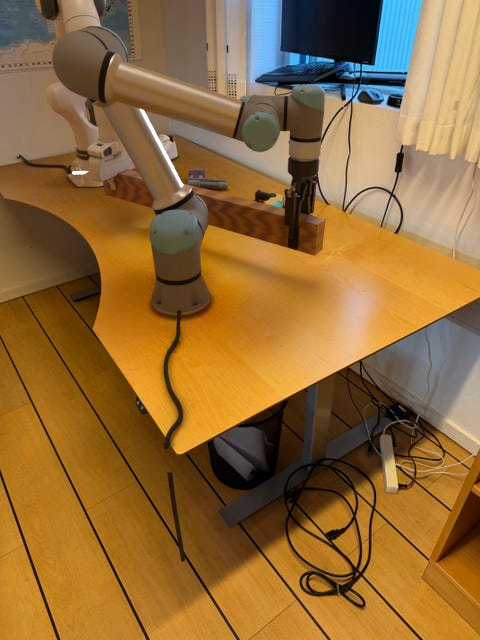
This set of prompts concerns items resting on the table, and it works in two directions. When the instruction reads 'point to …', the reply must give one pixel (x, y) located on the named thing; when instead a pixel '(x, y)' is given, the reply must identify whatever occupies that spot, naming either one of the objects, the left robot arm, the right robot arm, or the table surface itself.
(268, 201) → the toy gun
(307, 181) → the right robot arm
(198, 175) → the toy gun
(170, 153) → the sneaker
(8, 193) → the table surface
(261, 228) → the beam
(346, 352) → the table surface
